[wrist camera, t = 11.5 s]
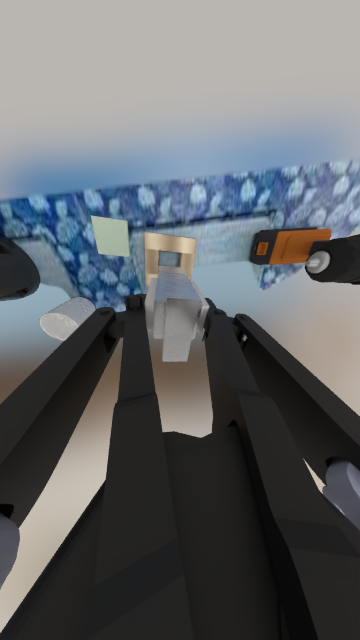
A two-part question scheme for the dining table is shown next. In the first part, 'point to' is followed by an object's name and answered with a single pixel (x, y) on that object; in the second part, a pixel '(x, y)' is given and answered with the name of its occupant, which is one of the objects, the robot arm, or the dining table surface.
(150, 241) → the socket block
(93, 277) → the dining table surface
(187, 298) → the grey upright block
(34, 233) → the dining table surface
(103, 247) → the mat
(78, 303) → the white cup
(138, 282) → the dining table surface
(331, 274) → the power drill
